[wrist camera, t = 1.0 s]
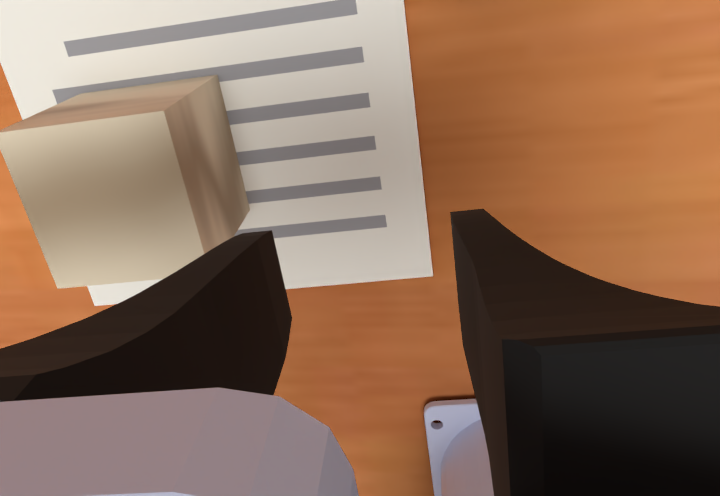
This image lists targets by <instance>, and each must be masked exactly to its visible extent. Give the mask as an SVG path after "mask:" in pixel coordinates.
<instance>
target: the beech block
mask: <svg viewBox="0 0 720 496" xmlns="http://www.w3.org/2000/svg"><path fill="white" fill-rule="evenodd" d="M0 150H1V152H2V155H3V157H4V160H5V162H6V164H7V167H8V169H9V172H10V174H11V177H12V179H13V181H14V184H15V186H16V189H17V191H18V193H19V196H20V198H21V201H22V203H23V206H24V208H25V210H26V213H27V215H28V218H29V220H30V223H31V225H32V227H33V230H34V232H35V235H36V237H37V240H38V242H39V244H40V247H41V249H42V252H43V254H44V257H45V259H46V261H47V264H48V266H49V269H50V271H51V274H52V276H53V278H54V281H55V283H56V286H57V288H58V289H60V288H70V287H81V286H92V285H103V284H114V283H124V282H135V281H146V280H157V279H164V278H166V277H168V276H169V275H171V274H173V273H174V272H176V271H178V270H179V269H181V268H183V267H184V266H186V265H187V264H189V263H191V262H192V261H194V260H195V259H197V258H199V257H200V256H202V255H203V254H205V253H207V252H208V251H210V250H211V249H213V248H215V247H216V246H218V245H220V244H221V243H223V242H225V241H227V240H228V239H230V238H232V237H234V235H235V234H236V232H237V230H238V229H239V227H240V226H241V224H242V222H243V221H244V219H245V217H246V216H247V214H248V213H249V211H250V207H249V203H248V199H247V195H246V191H245V187H244V183H243V178H242V174H241V170H240V166H239V162H238V158H237V153H236V149H235V145H234V141H233V137H232V133H231V129H230V124H229V120H228V116H227V112H226V108H225V104H224V100H223V95H222V91H221V87H220V83H219V79H218V75H211V76H203V77H196V78H189V79H182V80H175V81H167V82H160V83H153V84H146V85H139V86H131V87H124V88H117V89H110V90H102V91H95V92H88V93H81V94H79V95H77V96H74V97H72V98H70V99H68V100H66V101H63V102H61V103H59V104H57V105H55V106H52V107H50V108H48V109H46V110H44V111H41V112H39V113H37V114H35V115H33V116H30V117H28V118H26V119H24V120H22V121H19V122H17V123H15V124H13V125H11V126H8V127H6V128H4V129H2V130H0Z"/></svg>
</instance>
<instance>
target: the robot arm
mask: <svg viewBox="0 0 720 496" xmlns="http://www.w3.org/2000/svg"><path fill="white" fill-rule="evenodd" d="M450 213H451V224H452V236H453V247H454V258H455V270H456V281H457V292H458V303H459V313H460V322H461V331H462V340H463V347H464V351H465V356H466V360H467V364H468V368H469V372H470V376H471V381H472V385H473V389H474V393H475V397H476V399H461V400H444V401H433V402H429V403H428V404H426V406H425V407H424V419H425V427H426V435H427V442H428V450H429V458H430V466H431V474H432V481H433V489H434V496H720V307H718V306H709V305H701V304H694V303H689V302H684V301H679V300H674V299H668V298H663V297H658V296H654V295H650V294H646V293H642V292H638V291H634V290H631V289H628V288H625V287H621V286H618V285H615V284H612V283H608V282H605V281H603V280H600V279H597V278H594V277H592V276H589V275H587V274H585V273H582V272H580V271H578V270H576V269H573V268H571V267H569V266H566V265H564V264H562V263H560V262H558V261H557V260H555V259H553V258H551V257H549V256H548V255H546V254H544V253H543V252H541V251H539V250H537V249H536V248H534V247H533V246H531V245H530V244H528V243H526V242H525V241H524V240H522V239H521V238H519V237H518V236H516V235H515V234H514V233H512V232H511V231H510V230H508V229H507V228H506V227H505V226H503V225H502V224H501V223H500V222H498V221H497V220H496V219H495V218H494V217H492V216H491V215H490V214H489V213H488V212H486V211H485V210H484V209H477V210H467V211H457V212H450ZM291 321H292V316H291V311H290V307H289V303H288V298H287V294H286V289H285V285H284V281H283V276H282V272H281V268H280V263H279V259H278V254H277V250H276V246H275V241H274V237H273V232H272V230H269V231H260V232H250V233H242V234H239V235H236V236H234V237H232V238H230V239H228V240H227V241H225V242H223V243H221V244H220V245H218V246H216V247H215V248H213V249H211V250H210V251H208V252H207V253H205V254H203V255H202V256H200V257H199V258H197V259H195V260H194V261H192V262H191V263H189V264H187V265H186V266H184V267H183V268H181V269H179V270H178V271H176V272H174V273H173V274H171V275H169V276H168V277H166V278H164V279H162V280H161V281H159V282H157V283H155V284H154V285H152V286H150V287H148V288H147V289H145V290H143V291H142V292H140V293H138V294H136V295H134V296H132V297H130V298H128V299H126V300H124V301H122V302H120V303H118V304H116V305H114V306H112V307H110V308H108V309H106V310H103V311H101V312H99V313H97V314H95V315H93V316H90V317H88V318H86V319H83V320H81V321H78V322H75V323H73V324H70V325H68V326H65V327H62V328H60V329H57V330H54V331H52V332H49V333H46V334H44V335H41V336H38V337H36V338H33V339H30V340H27V341H24V342H21V343H18V344H14V345H11V346H8V347H5V348H2V349H0V496H359V495H358V490H357V485H356V481H355V476H354V471H353V468H352V467H351V465H350V463H349V461H348V460H347V458H346V456H345V454H344V452H343V451H342V449H341V447H340V445H339V444H338V442H337V440H336V438H335V437H334V435H333V433H332V431H331V430H330V428H329V427H328V426H326V425H325V424H323V423H321V422H320V421H318V420H316V419H315V418H313V417H312V416H310V415H308V414H307V413H305V412H304V411H302V410H300V409H299V408H297V407H296V406H294V405H292V404H291V403H289V402H287V401H286V400H284V399H283V398H281V397H279V396H273V395H274V392H275V389H276V386H277V382H278V379H279V376H280V373H281V370H282V367H283V364H284V361H285V357H286V352H287V346H288V341H289V334H290V328H291ZM435 420H440V421H441V422H440V423H434V422H433V421H435Z"/></svg>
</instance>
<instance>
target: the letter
mask: <svg viewBox="0 0 720 496" xmlns="http://www.w3.org/2000/svg"><path fill="white" fill-rule="evenodd" d="M0 63H1V65H2V68H3V70H4V73H5V75H6V78H7V81H8V83H9V86H10V88H11V91H12V94H13V96H14V99H15V101H16V104H17V106H18V109H19V112H20V114H21V117H22V119H23V120H24V119H26V118H28V117H30V116H33V115H35V114H37V113H39V112H41V111H44V110H46V109H48V108H50V107H52V106H55V105H57V104H59V103H61V102H63V101H66V100H68V99H70V98H72V97H74V96H77V95H79V94H81V93H88V92H95V91H102V90H110V89H117V88H124V87H131V86H139V85H146V84H153V83H160V82H167V81H175V80H182V79H189V78H196V77H203V76H211V75H218V79H219V83H220V87H221V91H222V95H223V100H224V104H225V108H226V112H227V116H228V120H229V124H230V129H231V133H232V137H233V141H234V145H235V149H236V153H237V158H238V162H239V166H240V170H241V174H242V178H243V183H244V187H245V191H246V195H247V199H248V203H249V207H250V211H249V213H248V214H247V216H246V217H245V219H244V221H243V222H242V224H241V226H240V227H239V229H238V230H237V232H236V234H235V235H234V236H236V235H239V234H242V233H250V232H260V231H269V230H272V232H273V237H274V241H275V246H276V250H277V254H278V259H279V263H280V268H281V272H282V276H283V281H284V285H285V289H293V288H305V287H316V286H328V285H339V284H350V283H362V282H373V281H385V280H396V279H407V278H419V277H430V276H433V269H432V260H431V250H430V241H429V232H428V222H427V213H426V204H425V194H424V185H423V176H422V166H421V157H420V147H419V138H418V129H417V119H416V110H415V101H414V91H413V82H412V73H411V63H410V54H409V44H408V35H407V26H406V16H405V7H404V0H0ZM161 280H162V279H157V280H146V281H135V282H124V283H114V284H103V285H92V286H87V287H88V290H89V292H90V295H91V297H92V300H93V302H94V305H95V306H99V305H111V304H118V303H120V302H122V301H124V300H126V299H128V298H130V297H132V296H134V295H136V294H138V293H140V292H142V291H143V290H145V289H147V288H148V287H150V286H152V285H154V284H155V283H157V282H159V281H161Z"/></svg>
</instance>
